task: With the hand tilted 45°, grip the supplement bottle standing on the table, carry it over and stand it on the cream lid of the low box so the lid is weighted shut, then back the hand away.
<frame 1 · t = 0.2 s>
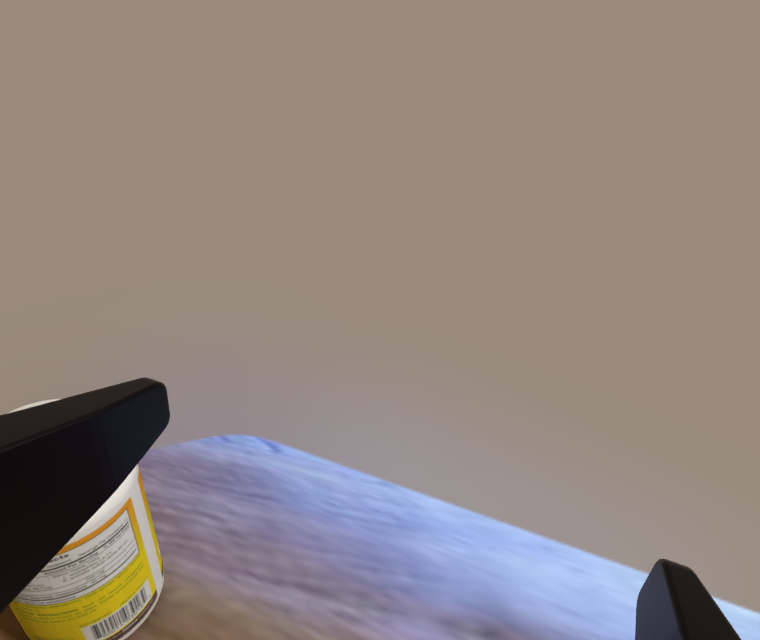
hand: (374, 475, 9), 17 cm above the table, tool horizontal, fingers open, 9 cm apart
supplement bottle: (101, 601, 23), on the table
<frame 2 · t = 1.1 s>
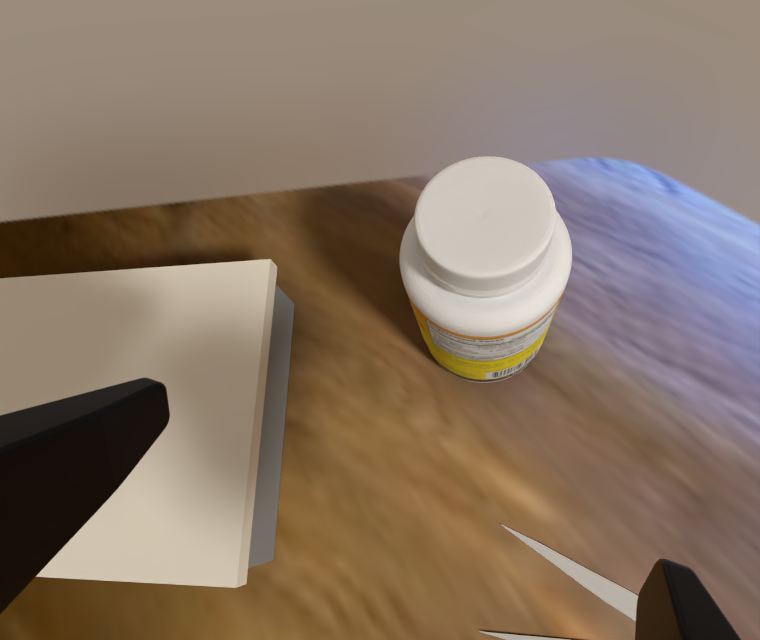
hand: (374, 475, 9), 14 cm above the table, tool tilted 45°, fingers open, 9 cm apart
supplement bottle: (481, 330, 23), on the table
box: (117, 422, 25), on the table
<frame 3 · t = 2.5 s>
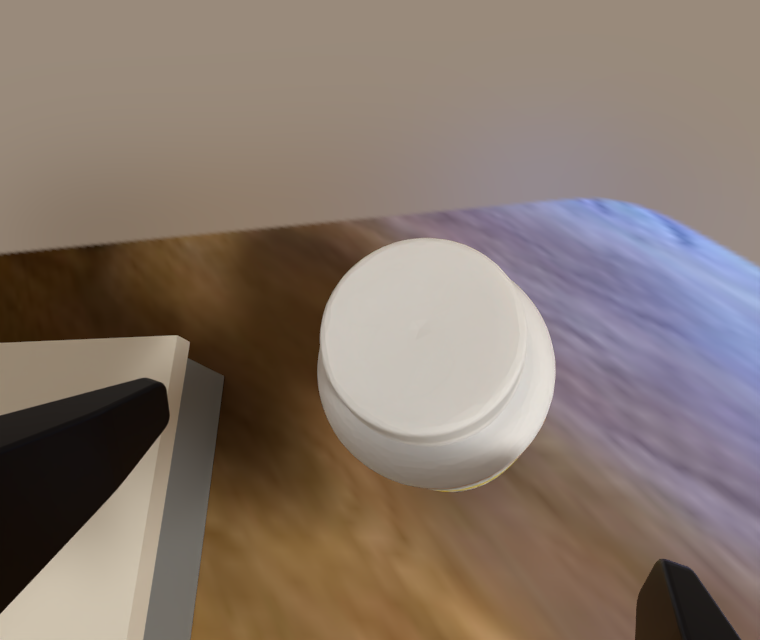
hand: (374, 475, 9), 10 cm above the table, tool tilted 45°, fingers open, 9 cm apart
supplement bottle: (449, 416, 19), on the table
box: (4, 523, 20), on the table
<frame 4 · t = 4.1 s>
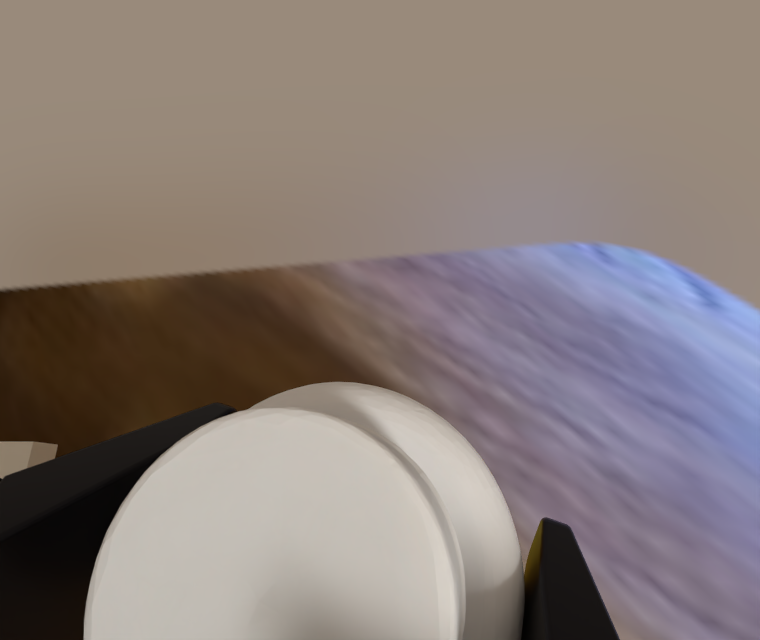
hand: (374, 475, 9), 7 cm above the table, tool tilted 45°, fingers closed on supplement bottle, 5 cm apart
supplement bottle: (404, 531, 15), on the table, touching gripper
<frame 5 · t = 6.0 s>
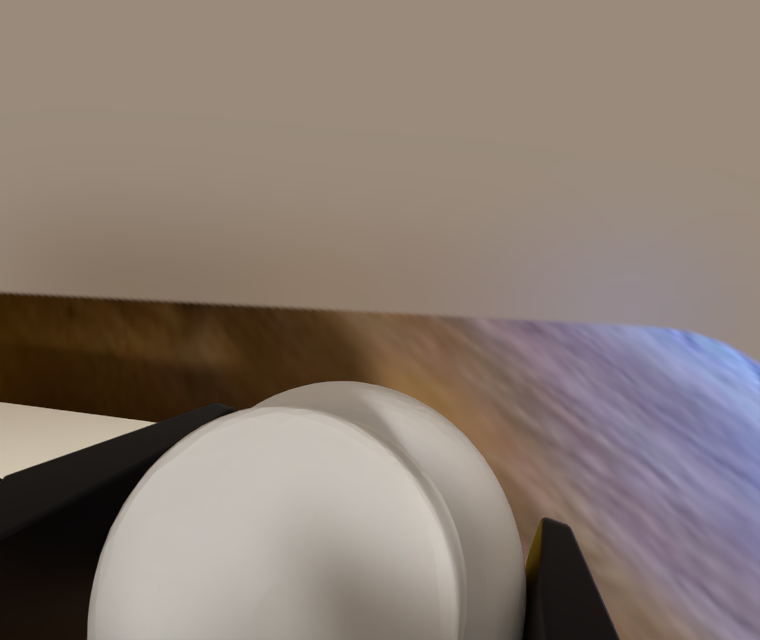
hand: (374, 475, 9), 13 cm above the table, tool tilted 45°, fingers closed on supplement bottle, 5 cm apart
supplement bottle: (406, 531, 15), point 6 cm above the table, touching gripper
box: (99, 565, 22), on the table
when the fingers open (12 cm above the table, at t = 8.1 s): supplement bottle drops 1 cm, resting on box.
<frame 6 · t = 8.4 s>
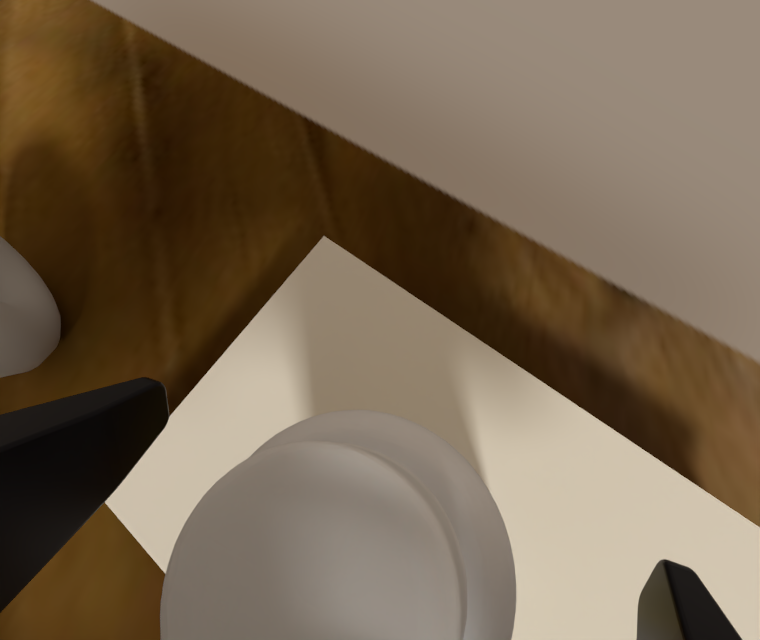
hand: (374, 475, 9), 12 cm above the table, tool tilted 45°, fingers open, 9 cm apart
supplement bottle: (409, 534, 16), point 4 cm above the table, touching box
box: (423, 522, 20), on the table
donut: (48, 320, 27), on the table
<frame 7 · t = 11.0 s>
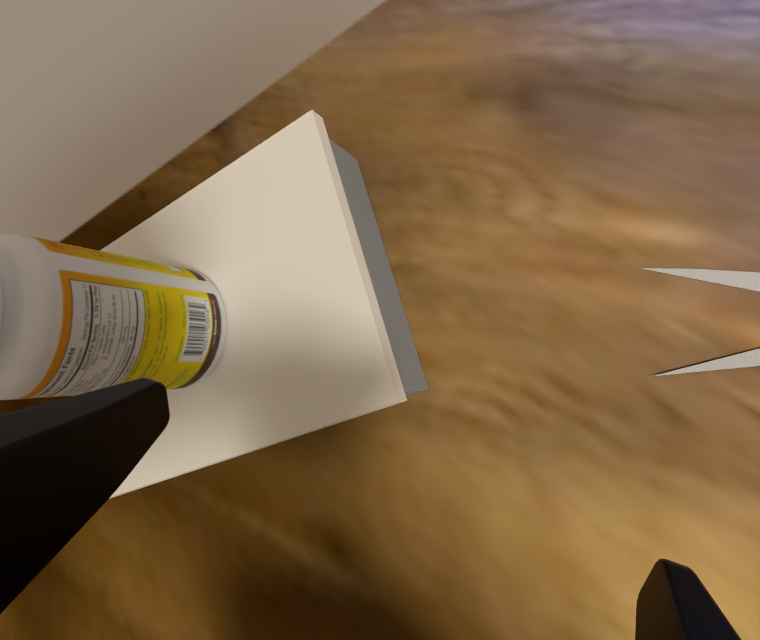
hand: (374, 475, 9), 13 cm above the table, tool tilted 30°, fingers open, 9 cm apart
supplement bottle: (193, 330, 23), point 4 cm above the table, touching box
box: (251, 332, 27), on the table
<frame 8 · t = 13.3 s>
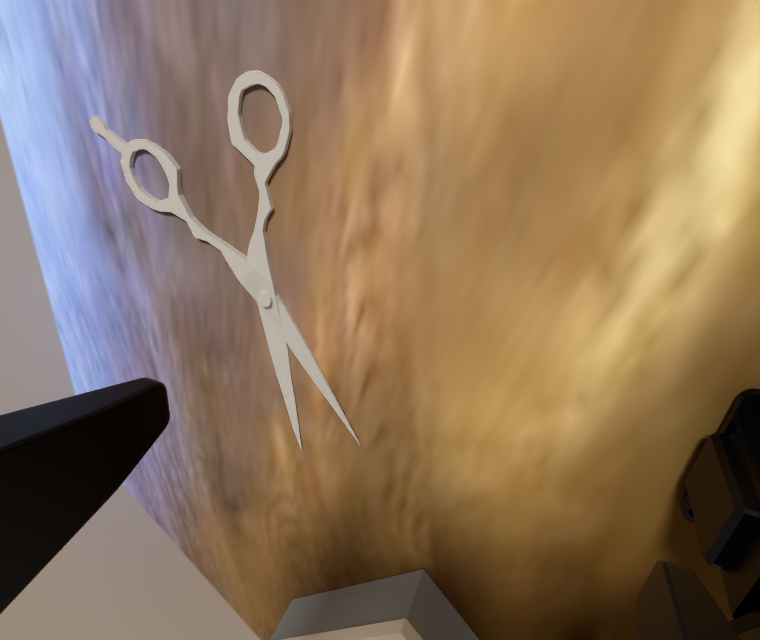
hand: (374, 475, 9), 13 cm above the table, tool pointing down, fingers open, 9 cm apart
scissors: (265, 280, 25), on the table
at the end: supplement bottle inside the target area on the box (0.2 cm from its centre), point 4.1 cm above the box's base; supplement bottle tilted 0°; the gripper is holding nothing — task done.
